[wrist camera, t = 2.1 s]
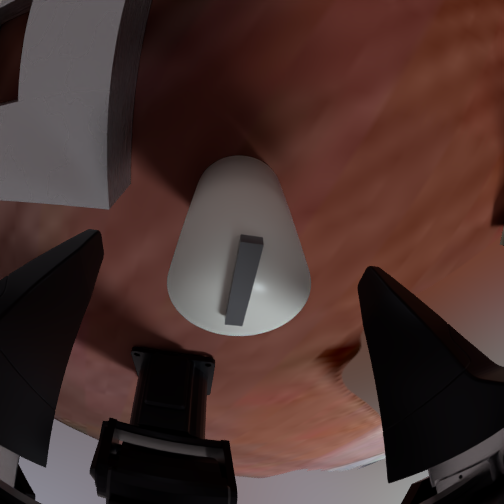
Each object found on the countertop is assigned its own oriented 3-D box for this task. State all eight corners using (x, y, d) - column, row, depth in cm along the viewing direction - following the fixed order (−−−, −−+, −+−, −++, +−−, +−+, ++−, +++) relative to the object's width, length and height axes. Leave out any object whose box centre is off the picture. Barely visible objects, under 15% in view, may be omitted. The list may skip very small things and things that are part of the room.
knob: (271, 237, 13) (289, 347, 8) (192, 226, 13) (167, 335, 8) (290, 163, 11) (334, 251, 6) (201, 149, 11) (164, 227, 6)
